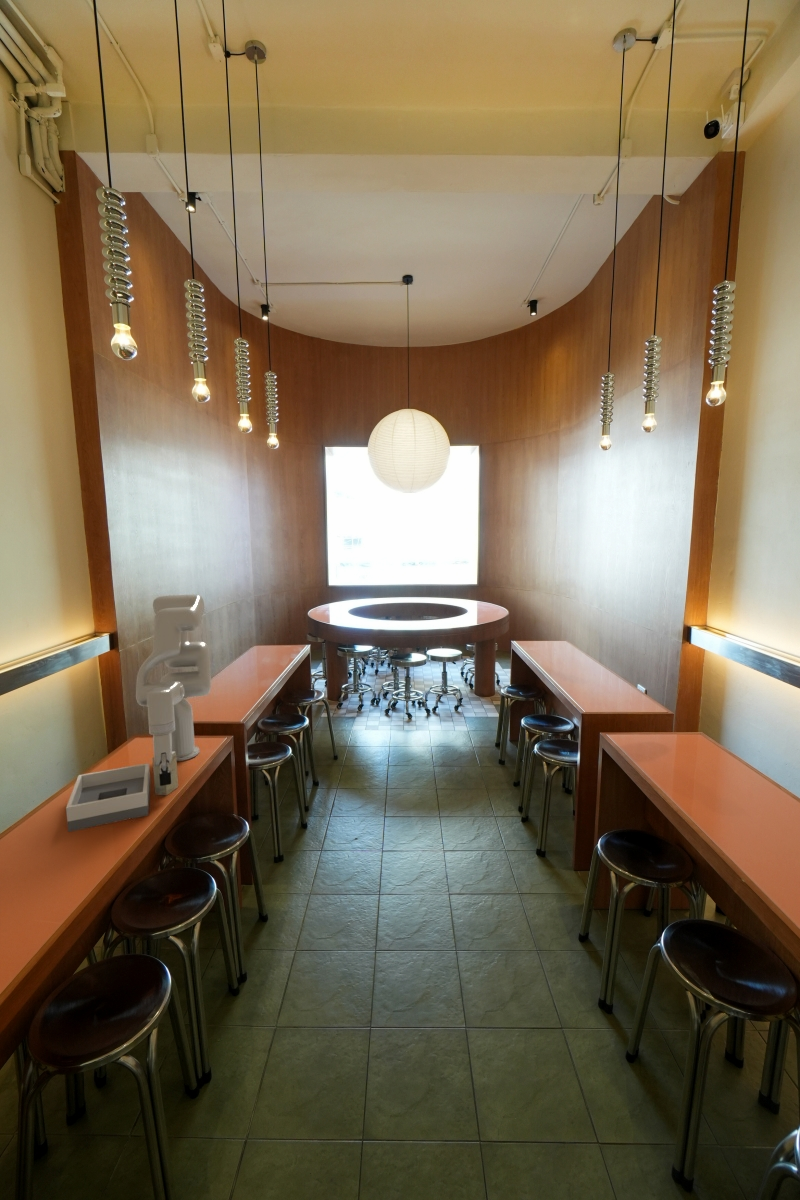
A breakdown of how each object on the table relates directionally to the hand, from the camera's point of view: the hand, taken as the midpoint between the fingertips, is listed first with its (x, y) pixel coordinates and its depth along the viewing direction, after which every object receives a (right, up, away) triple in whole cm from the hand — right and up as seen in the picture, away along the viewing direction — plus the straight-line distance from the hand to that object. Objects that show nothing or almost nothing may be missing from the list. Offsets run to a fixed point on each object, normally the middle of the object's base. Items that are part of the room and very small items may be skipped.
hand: (165, 778), depth 165 cm
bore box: (-12, -6, -8) cm, 16 cm away
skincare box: (0, -4, +1) cm, 5 cm away
